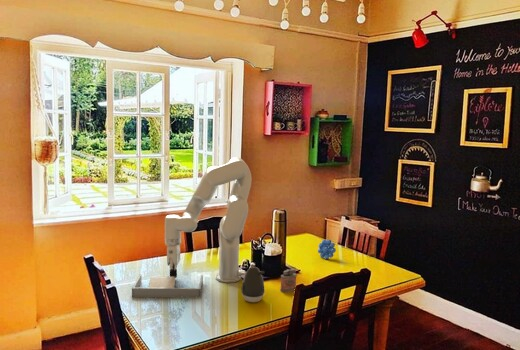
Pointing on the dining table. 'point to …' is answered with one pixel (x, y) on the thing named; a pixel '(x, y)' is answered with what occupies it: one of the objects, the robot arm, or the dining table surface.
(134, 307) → the dining table surface
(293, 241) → the dining table surface
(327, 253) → the blue knobbly wheel
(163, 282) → the washcloth
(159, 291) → the box
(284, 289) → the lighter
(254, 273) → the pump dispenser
